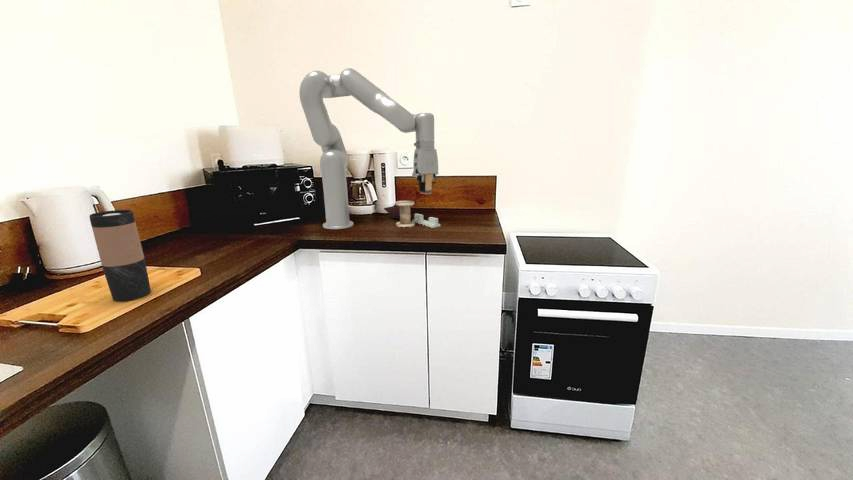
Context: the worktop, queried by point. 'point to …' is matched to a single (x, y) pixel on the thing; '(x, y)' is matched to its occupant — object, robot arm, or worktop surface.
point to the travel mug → (121, 254)
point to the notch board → (431, 223)
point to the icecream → (393, 211)
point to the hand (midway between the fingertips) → (425, 190)
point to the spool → (405, 214)
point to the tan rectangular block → (427, 184)
